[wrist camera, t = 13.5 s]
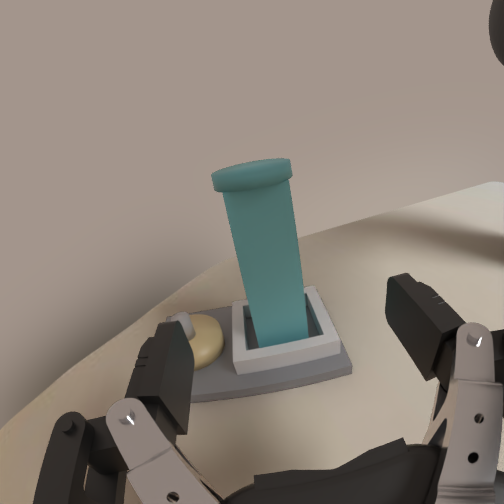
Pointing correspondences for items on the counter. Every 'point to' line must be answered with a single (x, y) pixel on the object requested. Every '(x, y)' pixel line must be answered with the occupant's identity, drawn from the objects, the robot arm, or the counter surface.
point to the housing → (259, 352)
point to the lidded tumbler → (266, 247)
